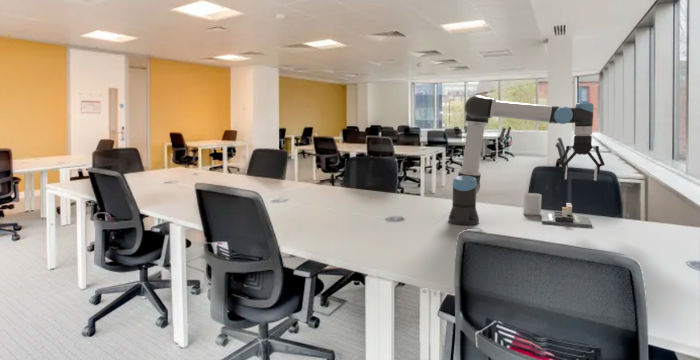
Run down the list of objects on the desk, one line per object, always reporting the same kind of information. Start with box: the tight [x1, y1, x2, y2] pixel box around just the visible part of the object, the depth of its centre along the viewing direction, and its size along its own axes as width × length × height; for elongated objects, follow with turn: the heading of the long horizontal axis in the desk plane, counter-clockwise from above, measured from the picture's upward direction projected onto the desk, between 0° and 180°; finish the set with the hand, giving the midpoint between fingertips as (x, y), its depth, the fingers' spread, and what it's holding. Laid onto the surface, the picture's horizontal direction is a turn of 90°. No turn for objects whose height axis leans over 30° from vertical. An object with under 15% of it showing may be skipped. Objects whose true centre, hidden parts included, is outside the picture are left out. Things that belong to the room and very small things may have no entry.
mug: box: [522, 192, 542, 216], centre depth 232 cm, size 12×9×11 cm
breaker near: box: [561, 206, 567, 217], centre depth 208 cm, size 2×3×4 cm
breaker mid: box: [567, 204, 573, 215], centre depth 213 cm, size 2×3×4 cm
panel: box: [541, 210, 593, 229], centre depth 213 cm, size 22×18×4 cm
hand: (580, 179), depth 203 cm, fingers open, 12 cm apart
